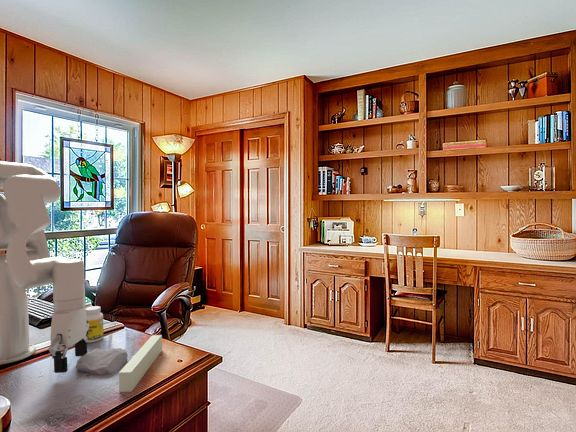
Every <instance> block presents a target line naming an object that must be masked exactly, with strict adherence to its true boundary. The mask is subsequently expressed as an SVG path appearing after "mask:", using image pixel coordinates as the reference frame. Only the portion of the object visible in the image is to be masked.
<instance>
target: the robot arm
mask: <svg viewBox="0 0 576 432" xmlns="http://www.w3.org/2000/svg"><path fill="white" fill-rule="evenodd" d="M0 190H2V191H3V194H4V195H3V194H1V193H0V251H6V253H4V254H3V253H2V254H0V365H5V364H10V363H15V362H18V361H21V360H24V359H26V358H29V357H30V356H32V355H33V354H35V352H36V349H37V348H36V345H34V344H31V343H30V325H29V324H30V323H29V321H30V320H29V298H28V295H27V293H26V291H25V290H26V289H27V290H28V289H29V290H30V289H34V288H40V287H43V286H47V285H48V286H49V285H52V295H53V296H52V297H53V298H52V299H53V300H52V301H53V312H52V317H51V324H50V344H49V346H48V351H49V353H50V357H51V358H52V360H53V372H54V373H55V374H56V373H59V374H60V373H62V374H64V373H67V372H68V369H69V368H68V356H67V352H68V350H69V349H70V348H71V347H73V346H74V355H75V357H82V356H83V355H85V354H86V353H88V342H87V340H88V338H87V335H88V329H89V324H88V323H87V321H86V312H85V309H86V289H85V286H86V285H85V264H84V261H83V260H81V259H78V258H68V257H65V256H52V257H51V255H50V250H49V245H48V243H47V237H46V233H45V229H46V228H48V227H49V226H50V225H51V224H52V219H51V217H50V215H49V212H48V208H47V205H46V204H51V203H53V204H54V203H55V202H57V201H58V200H59V199H60V196H61V188H60V185H59V183H58V181H57V180H56V179H55V178H54V177H53V176H51V175H50V174H48V173H47V172H45V171H43V170H42V169H39V168H38V167H36V166H35V165H32V164H28V163H21V162H13V161H11V162H10V161H1V160H0ZM60 350H62V352H61V351H60Z"/></svg>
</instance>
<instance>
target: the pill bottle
mask: <svg viewBox="0 0 576 432" xmlns="http://www.w3.org/2000/svg"><path fill="white" fill-rule="evenodd" d="M101 311H102V310H101V306H99V305H95V306H92V305H91V306H88V307H85V312H86V321H87V323H88V324H89V329H88V335H87V338H88V340H87V343H95V342H99V341H102V339H104V314H103V312H101Z"/></svg>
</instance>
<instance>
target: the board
mask: <svg viewBox="0 0 576 432" xmlns="http://www.w3.org/2000/svg"><path fill="white" fill-rule="evenodd" d="M162 351H163V335H162V334H160V335H159V334H157V335H150V337H149V338H148V340H146V342H145V343H144V344H143V345H142V346H141V347H140V348H139V350H138V351H136V353H135V354H134V355H133V356H132V358H130V360H129V361H127V362H126V363H125V364H124V366H123V368H121V369H120V371H119V372H118V388H119V389H118V391H119V393H129V392H130V393H132V392H133V390H134V389H135V388H136V386H138V384H139V383H140V381H141V379H142V378H143V377H144V375H145V374H146V373H147V371H148V370H149V369H150V367H151V366H152V364H154V363H155V361H156V360H157V358H158V357H159V355H160V354H161V353H162Z"/></svg>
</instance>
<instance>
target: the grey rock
mask: <svg viewBox="0 0 576 432" xmlns="http://www.w3.org/2000/svg"><path fill="white" fill-rule="evenodd" d="M127 362H128V353H127V350H126V349H124V348H121V347H118V348H112V349H108V350H107V349H102V348H100V347H97V348H94V349H92V350H91V351H89V352H88V351H87V353H86V354H85V355H83V356H80V358H79V359H77V361H76V363H75V364H76V365H75V369H77V370H78V371H80V372H84V373H89V374H93V375H97V376H100V375H110V374H111V375H112V374H113V373H115V372H116V371H118V370H119V369H120V368H121V367H122V366H123V365H125V364H126V363H127Z"/></svg>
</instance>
